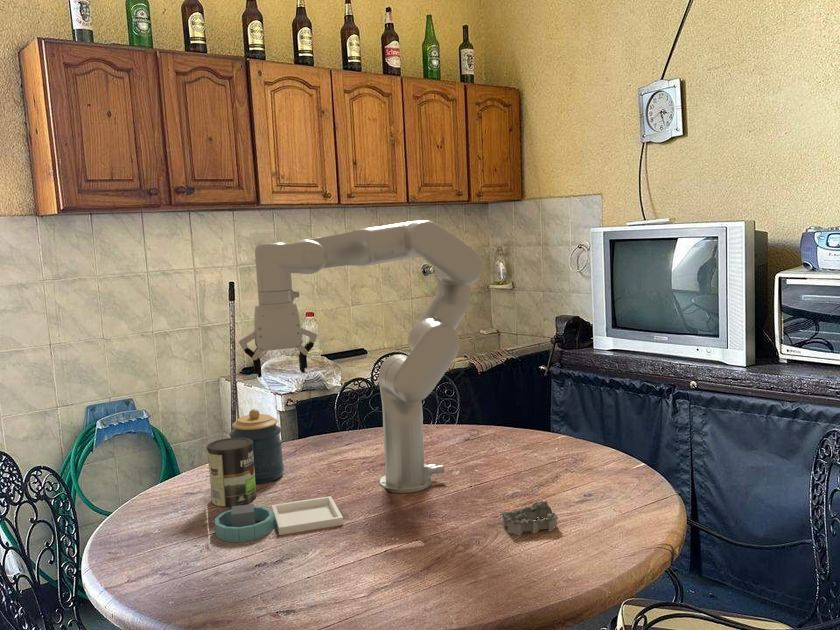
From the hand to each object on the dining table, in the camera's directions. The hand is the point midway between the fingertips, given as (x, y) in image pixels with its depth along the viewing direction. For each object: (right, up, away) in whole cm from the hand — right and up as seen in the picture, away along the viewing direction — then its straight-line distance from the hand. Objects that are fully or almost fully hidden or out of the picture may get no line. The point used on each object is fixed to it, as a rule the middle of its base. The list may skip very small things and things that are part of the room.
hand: (281, 374), depth 163 cm
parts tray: (+7, -31, -8) cm, 33 cm away
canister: (-10, -28, +22) cm, 37 cm away
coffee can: (-12, -30, +5) cm, 33 cm away
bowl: (-5, -32, -13) cm, 35 cm away
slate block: (-5, -31, -13) cm, 34 cm away
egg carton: (+54, -30, -15) cm, 64 cm away
